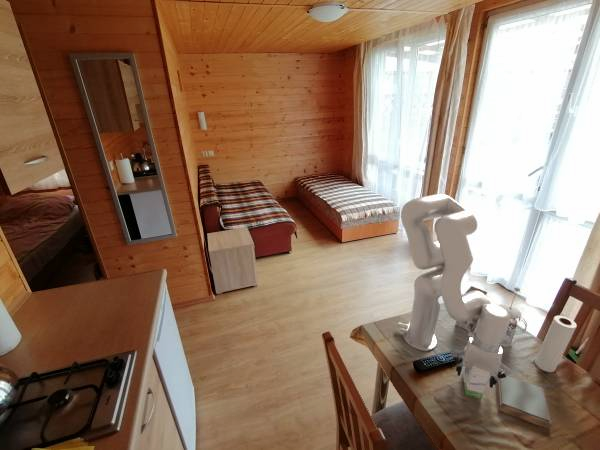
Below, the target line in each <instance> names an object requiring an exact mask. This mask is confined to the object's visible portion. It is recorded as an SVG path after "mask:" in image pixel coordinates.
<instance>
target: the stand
mask: <svg viewBox="0 0 600 450" xmlns="http://www.w3.org/2000/svg"><path fill="white" fill-rule="evenodd" d="M495 386H496V397H497V398H496V399H497V410H499V411H501V412H503V413H505V414H508V415H511V416H514V417H516V418H519V419H521V420H523V421H526V422H528V423H531V424H534V425H537V426H539V427H540V428H541V427H542V428H545V429H546V430H549V429H550V428H551V425H552V420H551V415H550V411H549V407H548V402H547V397H546V394H545V389H544V388H543V387H541V386H538V385H534V384H532V383H529V382H526V381H523V380H520V379H517V378H515V377H511V376H510V375H508V376H506V377H505V378H501V379H499V380H497V382H496V385H495Z"/></svg>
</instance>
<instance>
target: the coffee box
mask: <svg viewBox="0 0 600 450" xmlns="http://www.w3.org/2000/svg"><path fill="white" fill-rule="evenodd" d="M474 290H477V291H480V292H482V293H484V294H485V295H486V296H487V294H488V292H487V291H485V290H484V289H483V290H482V289H480V288H477V287H474V286H472V285H471V286H470V287H469V288H468V289H467V291H465V293H468V292H470V291H474ZM478 320H479V317H474V318H472V319H470V320H468V321H465V322H458V321H456V322H455V325H456V326H457V327H460V328H461V329H464V330H466V331H468V333H469V332H470V333H471V331H473V329H474V328H475V326H477V323H478Z"/></svg>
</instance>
